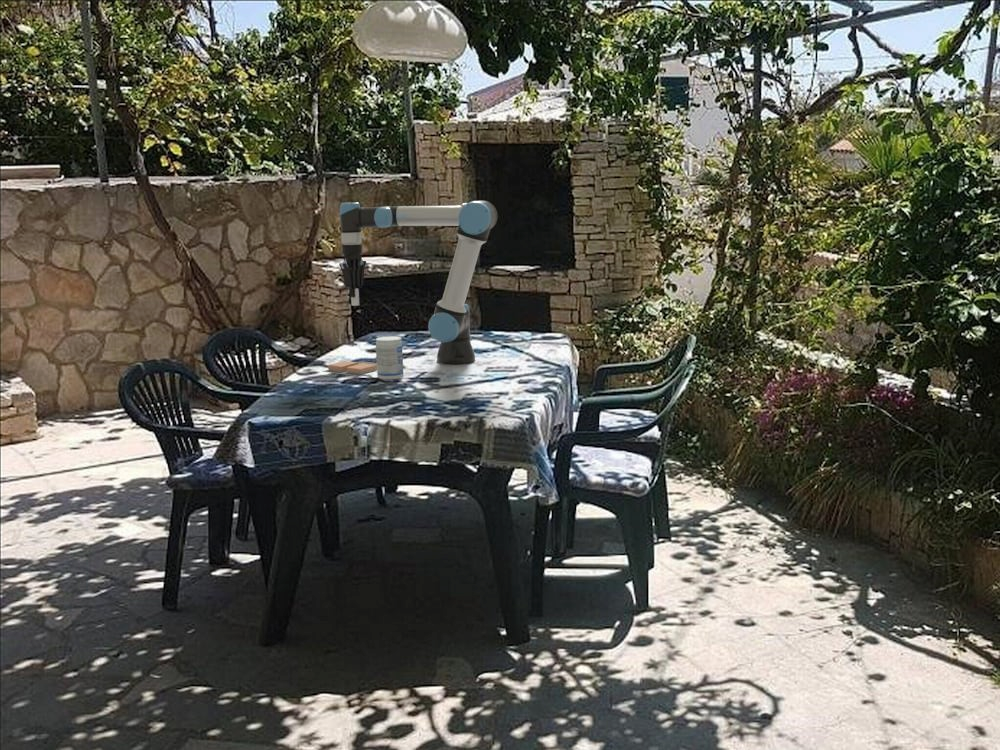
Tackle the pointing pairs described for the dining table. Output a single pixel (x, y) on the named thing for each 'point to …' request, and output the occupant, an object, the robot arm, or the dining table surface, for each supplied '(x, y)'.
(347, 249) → the robot arm
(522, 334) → the dining table surface
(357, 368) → the tan rectangular block
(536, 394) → the dining table surface
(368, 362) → the mat
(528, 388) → the dining table surface
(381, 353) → the supplement tub
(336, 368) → the tan flat block
